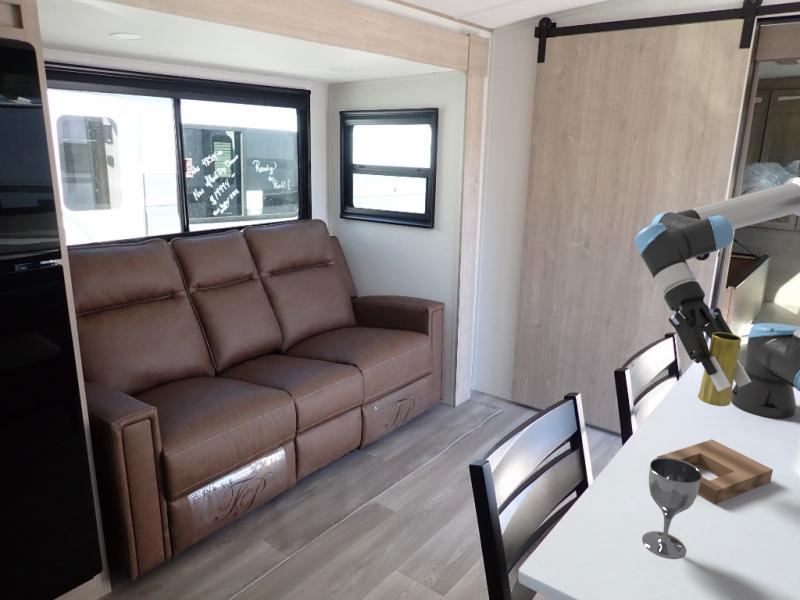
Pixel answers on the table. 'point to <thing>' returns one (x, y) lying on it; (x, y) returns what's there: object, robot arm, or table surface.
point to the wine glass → (671, 501)
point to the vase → (726, 355)
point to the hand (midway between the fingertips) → (734, 386)
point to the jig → (723, 470)
